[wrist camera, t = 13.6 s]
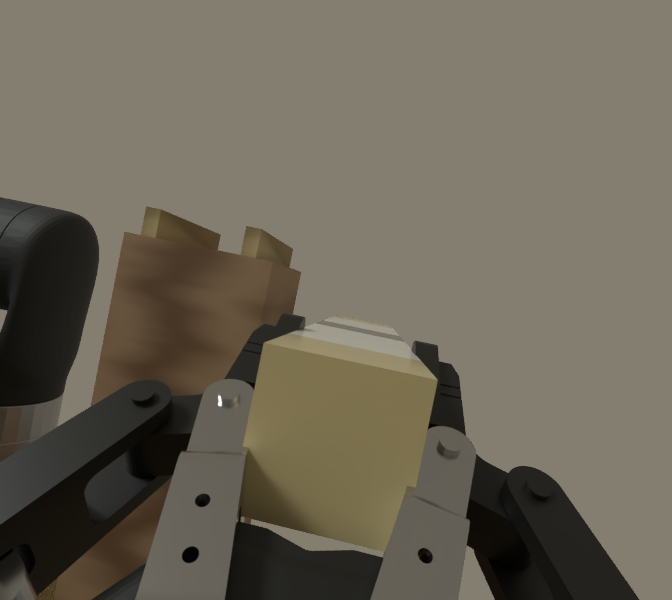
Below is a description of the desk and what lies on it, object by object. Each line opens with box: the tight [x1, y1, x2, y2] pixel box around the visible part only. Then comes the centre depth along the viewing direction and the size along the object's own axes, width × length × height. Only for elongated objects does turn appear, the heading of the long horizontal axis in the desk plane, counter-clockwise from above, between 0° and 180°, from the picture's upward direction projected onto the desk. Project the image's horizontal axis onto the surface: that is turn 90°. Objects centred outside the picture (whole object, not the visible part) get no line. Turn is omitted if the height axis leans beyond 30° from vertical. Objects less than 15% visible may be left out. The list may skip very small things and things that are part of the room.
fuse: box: [242, 315, 438, 552], centre depth 19 cm, size 4×20×4 cm, turn 175°
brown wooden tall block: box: [53, 207, 301, 600], centre depth 27 cm, size 9×11×34 cm
